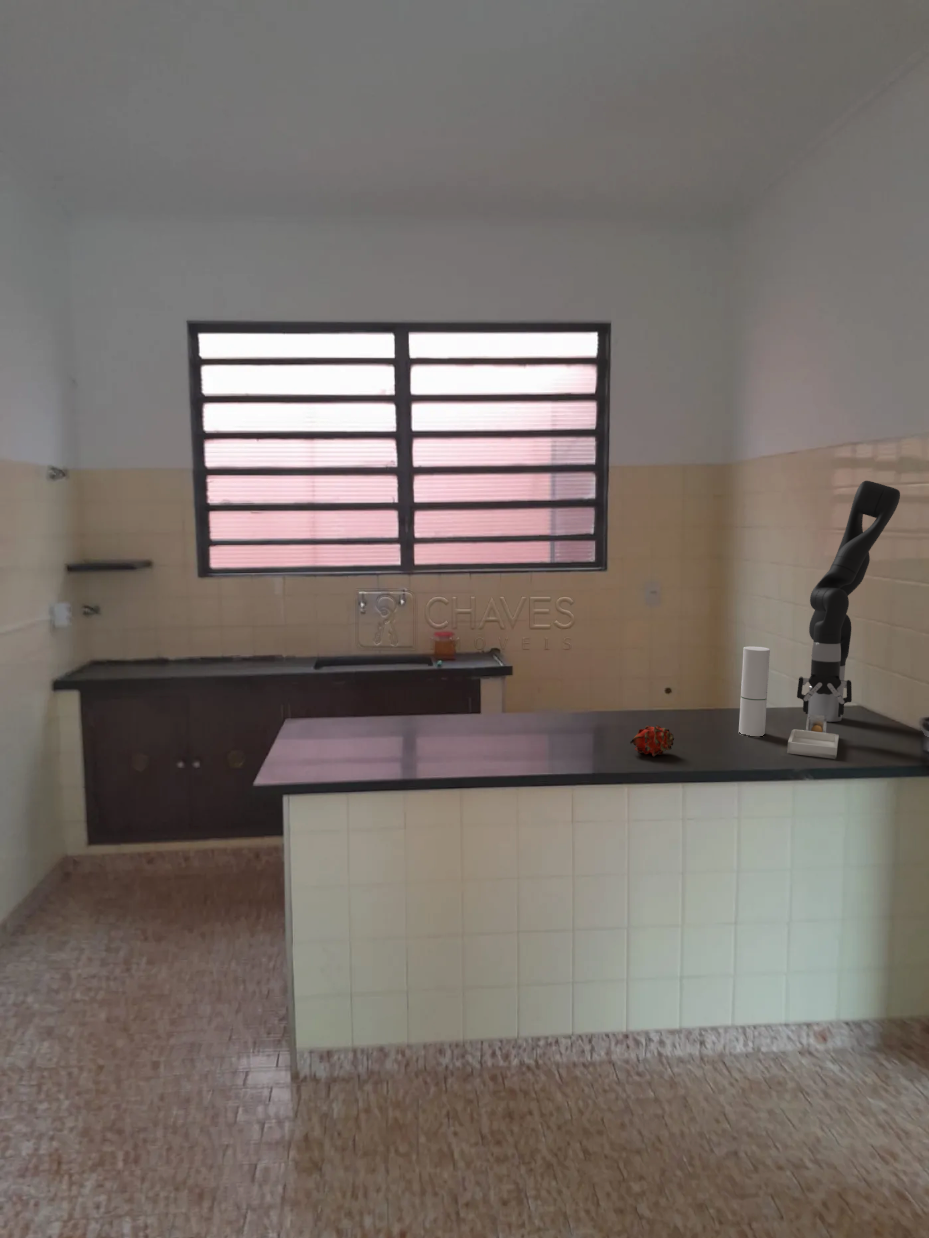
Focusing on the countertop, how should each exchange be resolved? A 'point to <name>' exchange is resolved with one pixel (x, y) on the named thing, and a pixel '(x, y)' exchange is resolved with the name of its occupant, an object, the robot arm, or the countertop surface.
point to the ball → (816, 728)
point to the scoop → (816, 722)
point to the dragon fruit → (653, 740)
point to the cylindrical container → (754, 690)
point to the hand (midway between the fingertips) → (822, 715)
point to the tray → (813, 743)
